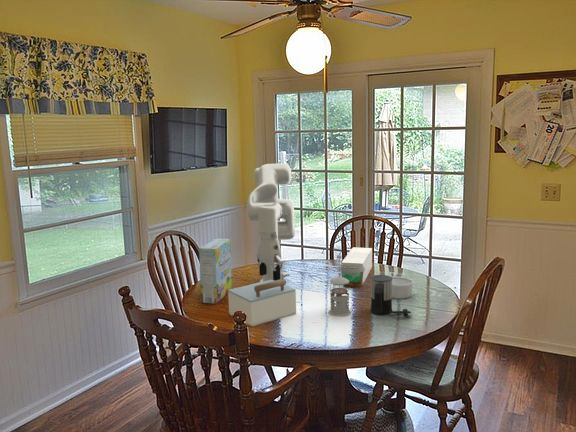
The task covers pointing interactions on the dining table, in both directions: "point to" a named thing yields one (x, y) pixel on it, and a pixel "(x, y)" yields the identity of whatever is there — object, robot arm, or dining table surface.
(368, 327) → the dining table surface
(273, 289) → the lid flap
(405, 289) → the ramekin
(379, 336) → the dining table surface
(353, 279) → the food container
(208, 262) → the snack box
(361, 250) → the long white box
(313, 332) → the dining table surface
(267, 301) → the carton
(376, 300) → the milk frother
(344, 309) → the french press
